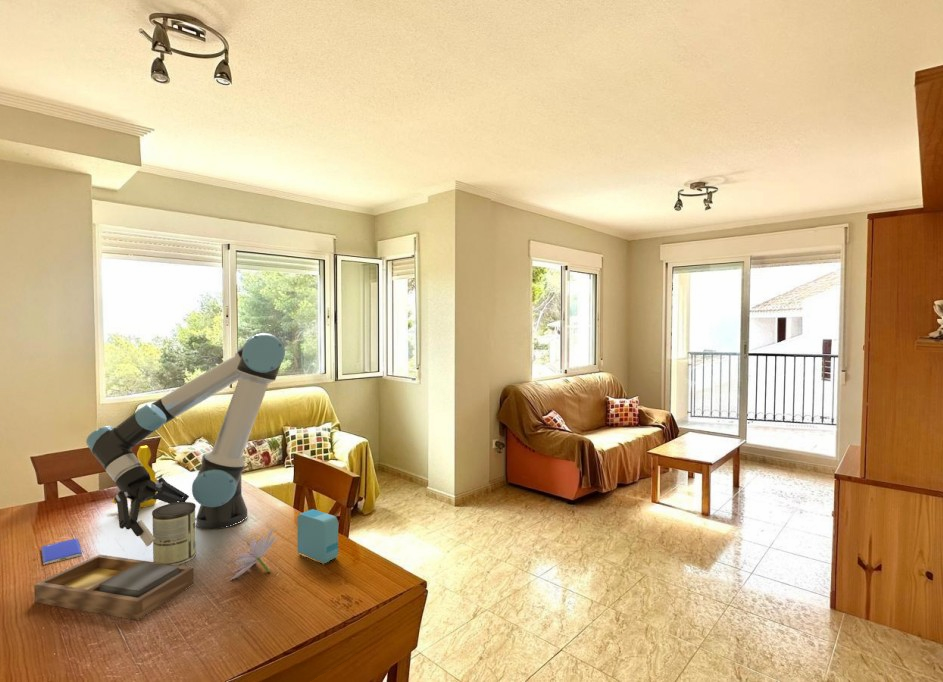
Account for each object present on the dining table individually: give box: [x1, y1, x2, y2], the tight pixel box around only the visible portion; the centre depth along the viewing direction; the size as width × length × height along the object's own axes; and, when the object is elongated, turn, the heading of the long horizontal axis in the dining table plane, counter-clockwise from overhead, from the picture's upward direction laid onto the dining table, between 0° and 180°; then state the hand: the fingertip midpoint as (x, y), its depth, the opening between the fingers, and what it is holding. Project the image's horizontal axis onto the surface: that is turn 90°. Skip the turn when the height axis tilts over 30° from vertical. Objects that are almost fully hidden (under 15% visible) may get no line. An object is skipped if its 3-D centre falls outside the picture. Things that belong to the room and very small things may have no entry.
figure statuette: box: [111, 445, 159, 509], centre depth 173 cm, size 18×8×22 cm, turn 137°
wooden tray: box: [33, 554, 195, 621], centre depth 116 cm, size 30×16×5 cm, turn 76°
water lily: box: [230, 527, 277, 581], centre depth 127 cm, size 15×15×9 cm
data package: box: [296, 508, 339, 564], centre depth 135 cm, size 12×4×12 cm, turn 57°
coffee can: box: [151, 501, 197, 566], centre depth 134 cm, size 10×10×14 cm
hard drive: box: [41, 538, 83, 566], centre depth 137 cm, size 2×8×12 cm
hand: (173, 532), depth 133 cm, fingers open, 13 cm apart
